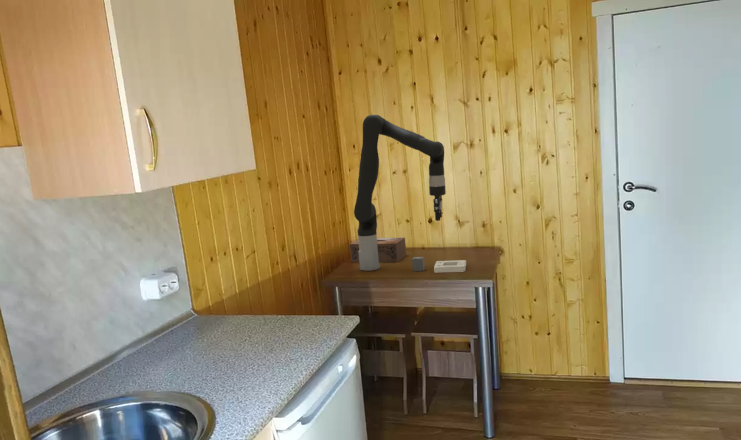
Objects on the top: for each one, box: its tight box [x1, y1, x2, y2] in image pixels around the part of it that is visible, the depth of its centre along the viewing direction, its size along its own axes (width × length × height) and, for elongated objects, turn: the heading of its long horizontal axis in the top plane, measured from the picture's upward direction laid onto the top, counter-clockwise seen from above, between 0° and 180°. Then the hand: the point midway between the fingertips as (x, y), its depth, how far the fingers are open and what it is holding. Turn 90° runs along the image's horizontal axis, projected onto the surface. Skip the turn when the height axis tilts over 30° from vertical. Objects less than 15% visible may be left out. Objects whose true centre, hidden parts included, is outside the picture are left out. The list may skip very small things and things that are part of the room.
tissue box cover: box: [349, 237, 407, 263], centre depth 307 cm, size 26×14×10 cm, turn 68°
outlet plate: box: [433, 259, 467, 274], centre depth 273 cm, size 14×12×3 cm
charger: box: [411, 256, 426, 272], centre depth 276 cm, size 5×4×6 cm
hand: (438, 219), depth 274 cm, fingers open, 8 cm apart
